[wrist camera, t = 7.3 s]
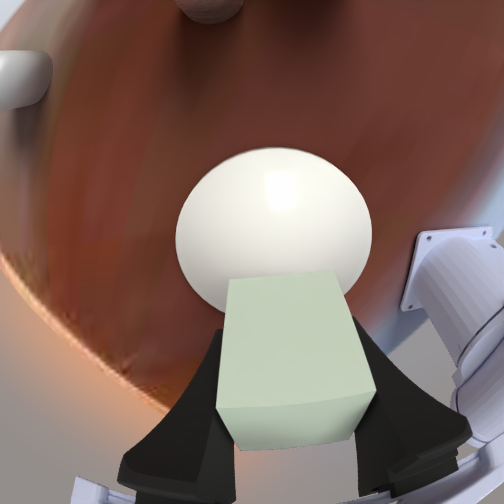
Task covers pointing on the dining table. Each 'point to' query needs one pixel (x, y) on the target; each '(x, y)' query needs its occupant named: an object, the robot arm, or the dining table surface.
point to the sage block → (291, 363)
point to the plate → (271, 222)
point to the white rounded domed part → (23, 78)
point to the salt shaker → (210, 10)
